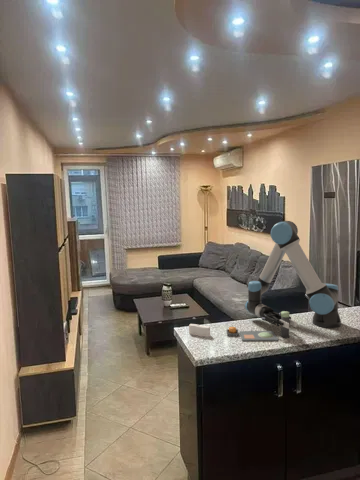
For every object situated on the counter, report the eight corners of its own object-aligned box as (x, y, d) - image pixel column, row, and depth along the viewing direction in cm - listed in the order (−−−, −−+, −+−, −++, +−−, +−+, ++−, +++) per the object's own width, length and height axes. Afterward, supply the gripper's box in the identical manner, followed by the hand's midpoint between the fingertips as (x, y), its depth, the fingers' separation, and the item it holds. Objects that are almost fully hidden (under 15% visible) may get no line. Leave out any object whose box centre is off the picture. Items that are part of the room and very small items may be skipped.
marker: (288, 334, 187) (288, 311, 185) (290, 338, 183) (290, 313, 181) (280, 335, 187) (280, 311, 186) (282, 338, 183) (282, 313, 181)
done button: (235, 331, 192) (235, 326, 192) (236, 333, 188) (236, 329, 188) (228, 331, 192) (228, 326, 192) (229, 333, 188) (229, 329, 188)
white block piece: (216, 336, 188) (215, 326, 188) (198, 341, 182) (198, 331, 182) (199, 328, 201) (199, 318, 200) (183, 333, 195) (182, 323, 194)
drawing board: (273, 332, 191) (273, 330, 191) (278, 341, 179) (278, 339, 179) (239, 332, 192) (239, 330, 192) (242, 341, 180) (242, 339, 180)
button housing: (237, 331, 193) (237, 329, 193) (238, 336, 187) (238, 333, 187) (226, 332, 193) (226, 329, 193) (227, 336, 187) (227, 333, 187)
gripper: (276, 316, 204) (305, 329, 182) (251, 321, 198) (278, 335, 176) (276, 304, 203) (305, 315, 182) (251, 308, 197) (278, 320, 175)
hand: (292, 325), depth 179 cm, fingers closed on marker, 4 cm apart
